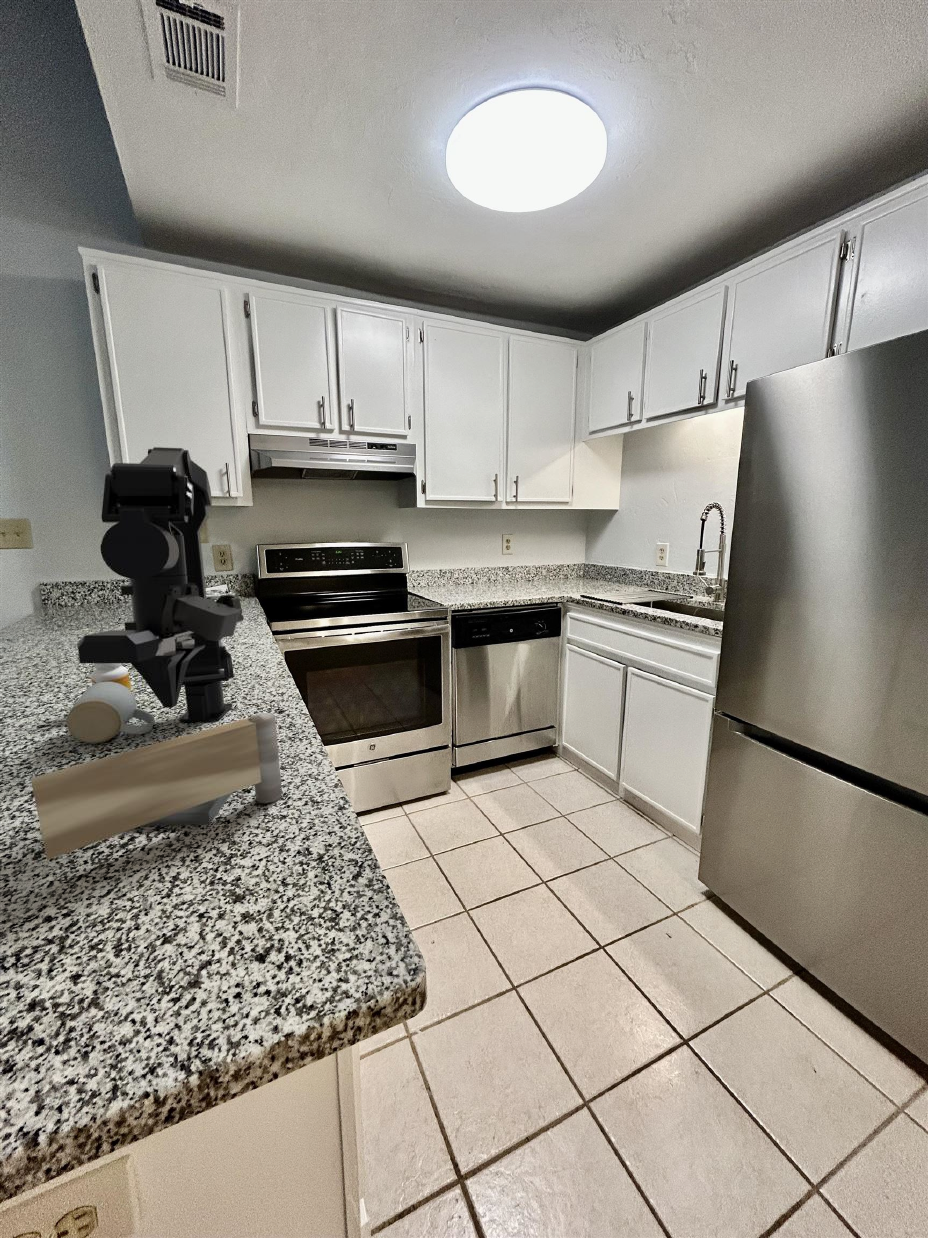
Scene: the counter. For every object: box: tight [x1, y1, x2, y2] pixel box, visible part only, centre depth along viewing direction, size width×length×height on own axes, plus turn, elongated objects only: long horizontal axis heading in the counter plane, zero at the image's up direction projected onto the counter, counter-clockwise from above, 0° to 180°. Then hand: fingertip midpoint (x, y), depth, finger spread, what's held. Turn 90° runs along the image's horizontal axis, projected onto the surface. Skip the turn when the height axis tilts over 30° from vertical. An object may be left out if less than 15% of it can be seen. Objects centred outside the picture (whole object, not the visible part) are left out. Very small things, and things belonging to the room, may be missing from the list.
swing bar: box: [30, 712, 283, 861], centre depth 55 cm, size 3×22×10 cm, turn 133°
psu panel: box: [141, 792, 233, 827], centre depth 62 cm, size 12×16×2 cm
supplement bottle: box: [90, 663, 132, 692], centre depth 89 cm, size 5×5×10 cm
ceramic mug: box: [65, 682, 155, 744], centre depth 80 cm, size 11×8×8 cm
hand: (170, 706), depth 61 cm, fingers closed
